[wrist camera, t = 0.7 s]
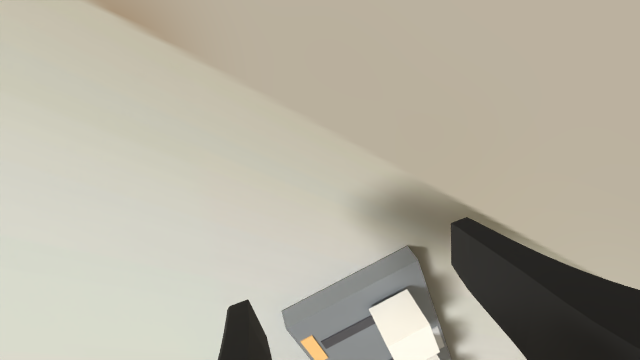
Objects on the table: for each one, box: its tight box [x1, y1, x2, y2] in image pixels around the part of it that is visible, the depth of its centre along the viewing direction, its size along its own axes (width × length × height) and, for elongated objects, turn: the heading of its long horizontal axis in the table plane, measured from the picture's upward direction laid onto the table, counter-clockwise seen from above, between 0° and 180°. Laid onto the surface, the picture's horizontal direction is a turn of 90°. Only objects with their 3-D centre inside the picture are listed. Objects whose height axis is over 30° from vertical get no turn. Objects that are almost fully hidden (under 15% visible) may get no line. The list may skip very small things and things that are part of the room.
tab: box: [369, 289, 440, 360], centre depth 25 cm, size 4×3×3 cm
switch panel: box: [282, 246, 452, 360], centre depth 31 cm, size 20×10×2 cm, turn 22°
